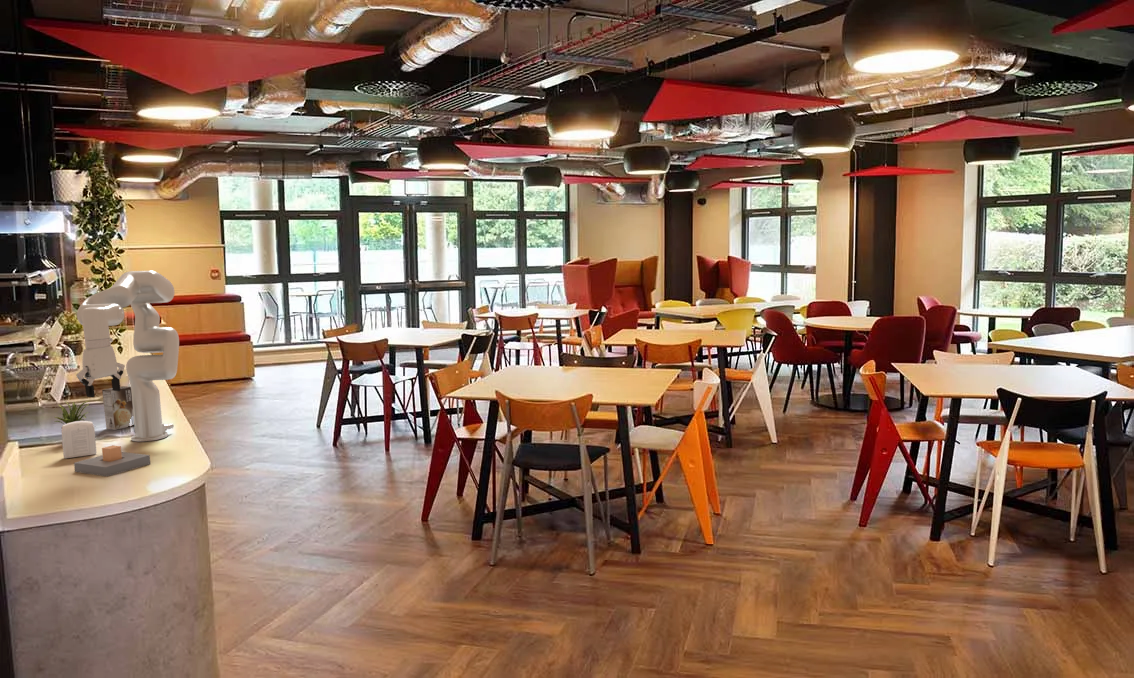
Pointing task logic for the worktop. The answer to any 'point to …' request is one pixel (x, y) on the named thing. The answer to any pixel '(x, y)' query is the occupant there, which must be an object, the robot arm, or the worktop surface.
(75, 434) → the photo printer
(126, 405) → the coffee box
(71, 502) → the worktop surface
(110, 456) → the orange rectangular block
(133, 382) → the robot arm
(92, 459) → the grey square hole board
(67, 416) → the house plant
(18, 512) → the worktop surface
